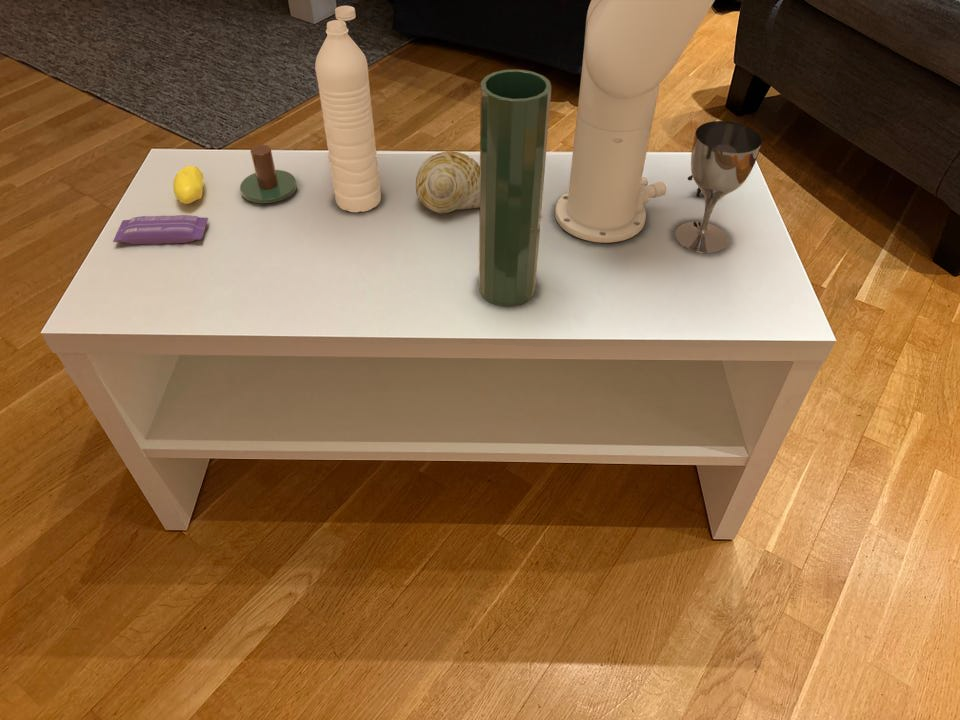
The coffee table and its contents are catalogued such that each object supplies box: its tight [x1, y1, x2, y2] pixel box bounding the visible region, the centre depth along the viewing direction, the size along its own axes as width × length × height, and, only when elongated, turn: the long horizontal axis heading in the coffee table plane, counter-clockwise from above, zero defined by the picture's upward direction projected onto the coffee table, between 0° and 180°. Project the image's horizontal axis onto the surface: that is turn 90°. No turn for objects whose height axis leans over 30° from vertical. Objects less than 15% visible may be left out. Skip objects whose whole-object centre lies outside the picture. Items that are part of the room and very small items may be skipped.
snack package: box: [112, 214, 209, 245], centre depth 99 cm, size 12×2×5 cm
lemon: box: [172, 165, 205, 205], centre depth 105 cm, size 4×8×4 cm, turn 5°
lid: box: [239, 144, 298, 204], centre depth 105 cm, size 8×8×7 cm
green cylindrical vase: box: [478, 69, 552, 307], centre depth 83 cm, size 7×7×26 cm
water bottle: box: [314, 5, 382, 213], centre depth 98 cm, size 9×6×25 cm
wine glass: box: [674, 120, 763, 254], centre depth 95 cm, size 8×8×15 cm
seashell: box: [415, 150, 480, 214], centre depth 104 cm, size 10×10×10 cm
